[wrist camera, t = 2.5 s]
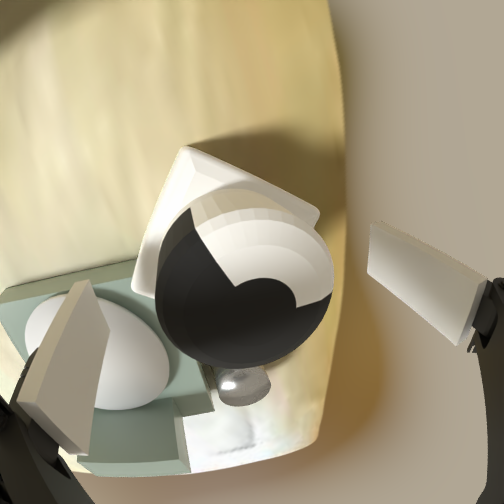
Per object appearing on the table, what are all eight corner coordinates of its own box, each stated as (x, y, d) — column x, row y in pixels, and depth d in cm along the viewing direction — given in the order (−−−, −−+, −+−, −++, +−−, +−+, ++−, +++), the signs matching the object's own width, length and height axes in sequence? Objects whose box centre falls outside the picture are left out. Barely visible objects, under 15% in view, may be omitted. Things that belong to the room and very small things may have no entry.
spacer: (207, 351, 25) (214, 381, 22) (256, 340, 26) (269, 368, 23) (216, 382, 28) (224, 410, 24) (260, 371, 29) (272, 398, 25)
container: (232, 272, 23) (291, 397, 11) (142, 240, 20) (113, 368, 8) (275, 186, 21) (391, 250, 9) (182, 143, 18) (192, 145, 6)
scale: (5, 288, 17) (-44, 357, 8) (169, 252, 21) (169, 336, 12) (82, 409, 25) (74, 476, 16) (211, 393, 28) (230, 469, 19)
